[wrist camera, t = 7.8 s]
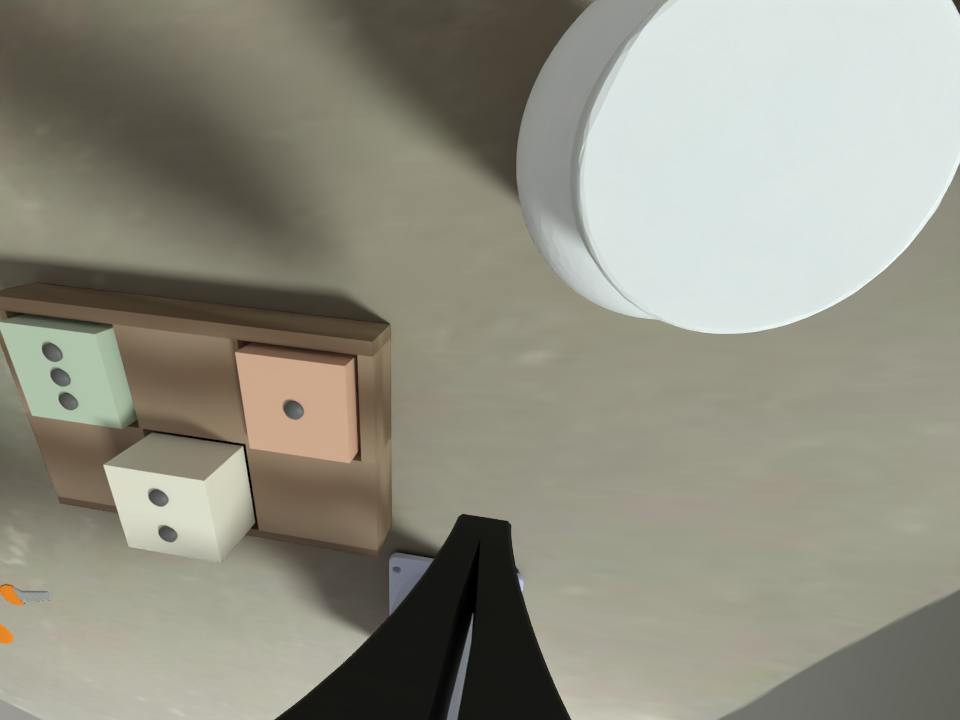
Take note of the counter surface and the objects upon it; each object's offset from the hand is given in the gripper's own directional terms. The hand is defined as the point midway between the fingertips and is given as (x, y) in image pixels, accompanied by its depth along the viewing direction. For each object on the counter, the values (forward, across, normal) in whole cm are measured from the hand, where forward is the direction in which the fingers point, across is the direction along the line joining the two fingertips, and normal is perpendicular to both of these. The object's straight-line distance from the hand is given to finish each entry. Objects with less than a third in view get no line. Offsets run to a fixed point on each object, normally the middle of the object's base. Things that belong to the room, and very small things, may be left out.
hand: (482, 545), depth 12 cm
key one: (+10, +10, +1) cm, 14 cm away
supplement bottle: (+10, -3, -10) cm, 15 cm away
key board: (+10, +16, +4) cm, 19 cm away
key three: (+10, +21, +1) cm, 24 cm away
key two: (+8, +16, +7) cm, 19 cm away
